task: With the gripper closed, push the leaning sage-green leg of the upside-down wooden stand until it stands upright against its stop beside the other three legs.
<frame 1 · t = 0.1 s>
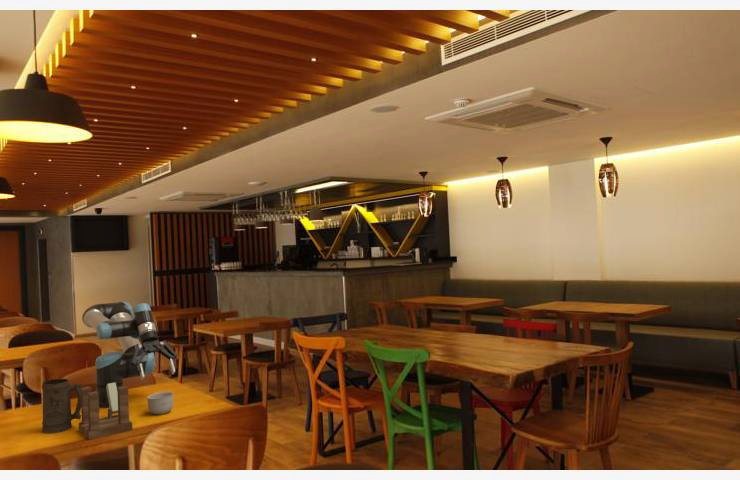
hand: (158, 375, 258), 15 cm above the table, tool tilted 35°, fingers open, 13 cm apart
wooden stand: (105, 430, 231), on the table
teacup: (162, 412, 254), on the table
beer stein: (63, 428, 236), on the table
hinged leg: (113, 398, 241), point 10 cm above the table, hinge at 30.0°
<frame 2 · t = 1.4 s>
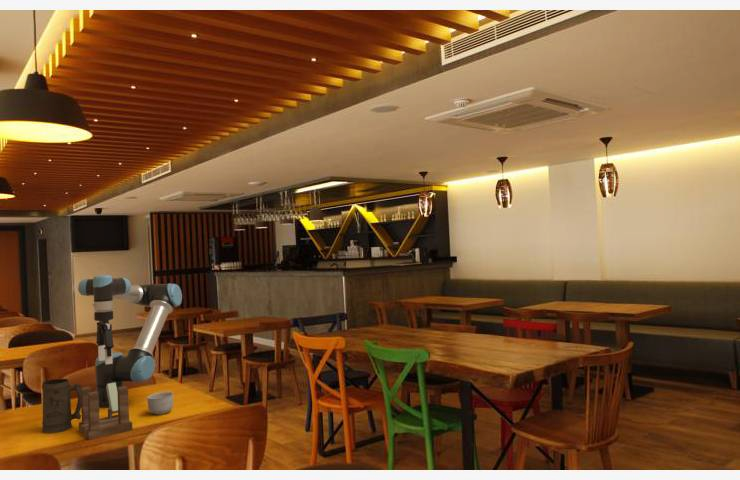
hand: (105, 362, 249), 24 cm above the table, tool pointing down, fingers open, 10 cm apart
nothing on the table moved.
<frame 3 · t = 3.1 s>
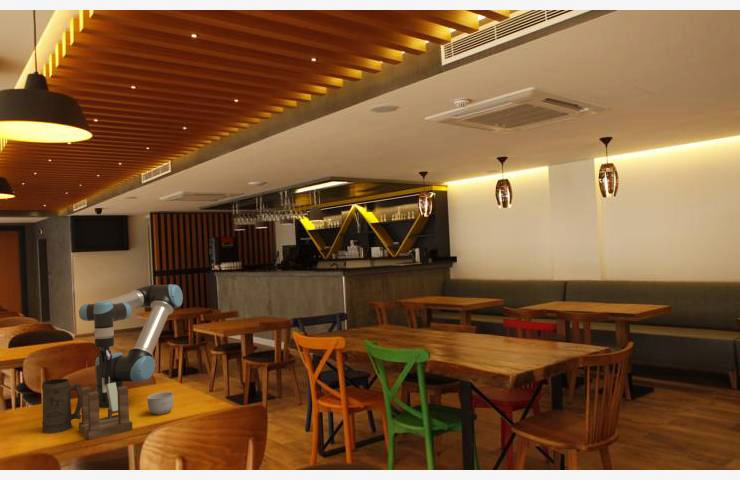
hand: (106, 391, 249), 11 cm above the table, tool pointing down, fingers closed
nothing on the table moved.
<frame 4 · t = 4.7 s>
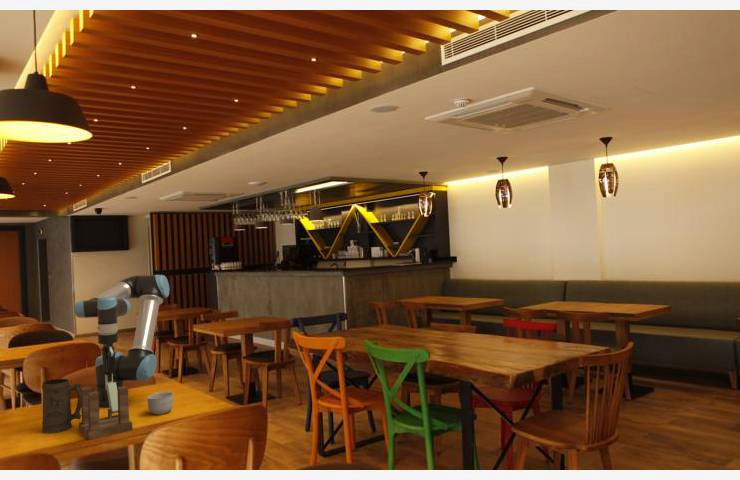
hand: (109, 388, 245), 13 cm above the table, tool pointing down, fingers closed
hinged leg: (113, 397, 241), point 10 cm above the table, hinge at 27.9°, touching gripper
everything else where it was.
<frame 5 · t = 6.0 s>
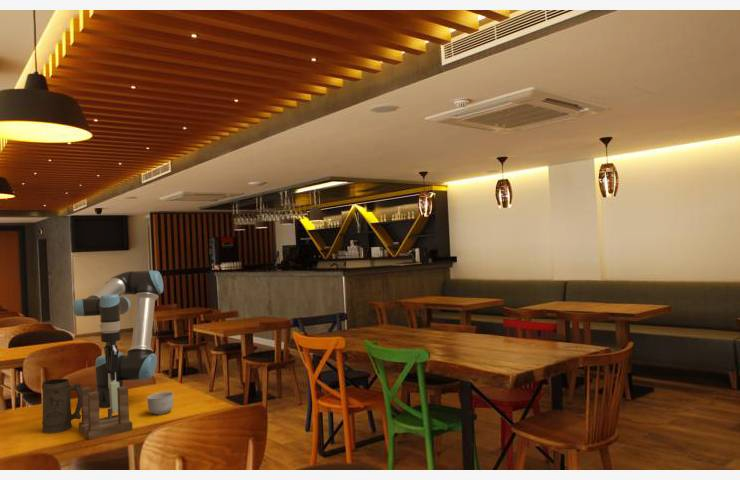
hand: (112, 387, 241), 14 cm above the table, tool pointing down, fingers closed
hinged leg: (114, 397, 239), point 11 cm above the table, hinge at 4.1°, touching gripper
everything else where it was.
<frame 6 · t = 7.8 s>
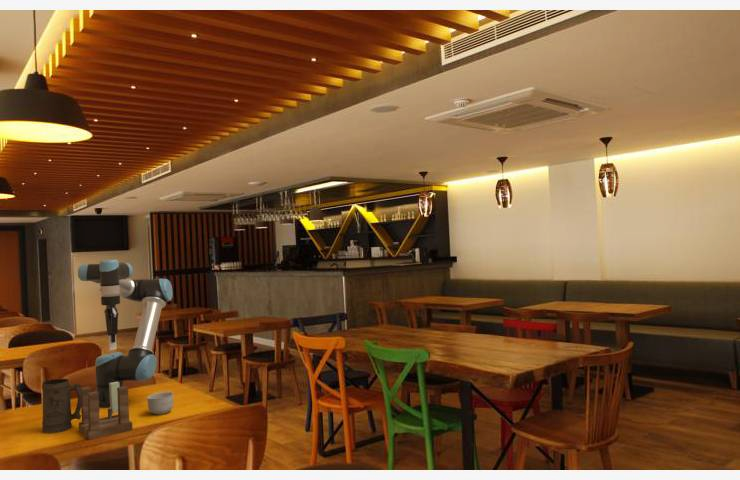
hand: (112, 349, 249), 29 cm above the table, tool pointing down, fingers closed
hinged leg: (114, 397, 239), point 11 cm above the table, hinge at 3.8°
everything else where it was.
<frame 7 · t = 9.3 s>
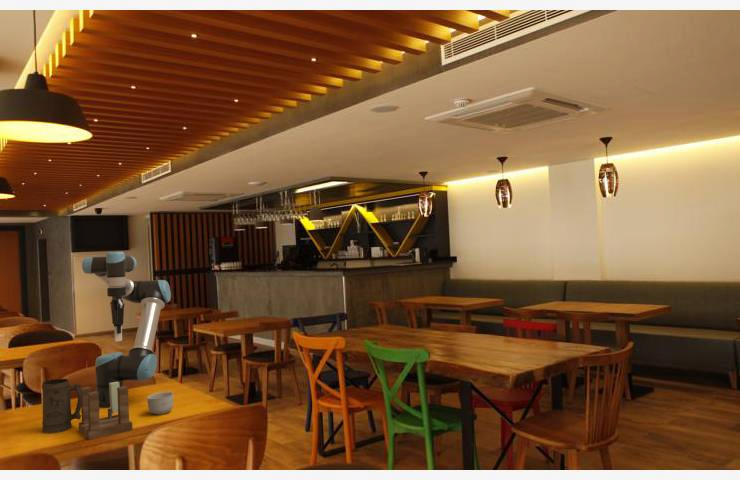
hand: (118, 340, 252), 32 cm above the table, tool pointing down, fingers closed
nothing on the table moved.
at the end: hinged leg at +4° (first picture: +30°); beer stein moved 0.2 cm from its start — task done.
